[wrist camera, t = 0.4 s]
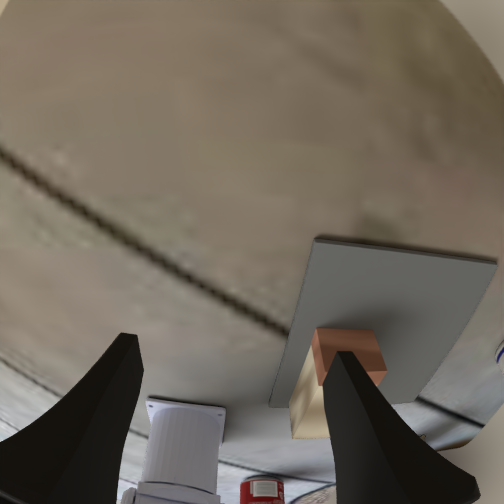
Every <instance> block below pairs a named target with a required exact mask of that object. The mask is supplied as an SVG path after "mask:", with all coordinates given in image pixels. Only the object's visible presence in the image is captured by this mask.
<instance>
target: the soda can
mask: <svg viewBox="0 0 504 504" xmlns="http://www.w3.org/2000/svg"><path fill="white" fill-rule="evenodd" d="M240 504H285V502H284V484H283V482H282V481H281V480H279V479H277V478H274V477H270V476H257V477H251V478H248V479H247V480H245V481H243V482H241V484H240Z"/></svg>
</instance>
